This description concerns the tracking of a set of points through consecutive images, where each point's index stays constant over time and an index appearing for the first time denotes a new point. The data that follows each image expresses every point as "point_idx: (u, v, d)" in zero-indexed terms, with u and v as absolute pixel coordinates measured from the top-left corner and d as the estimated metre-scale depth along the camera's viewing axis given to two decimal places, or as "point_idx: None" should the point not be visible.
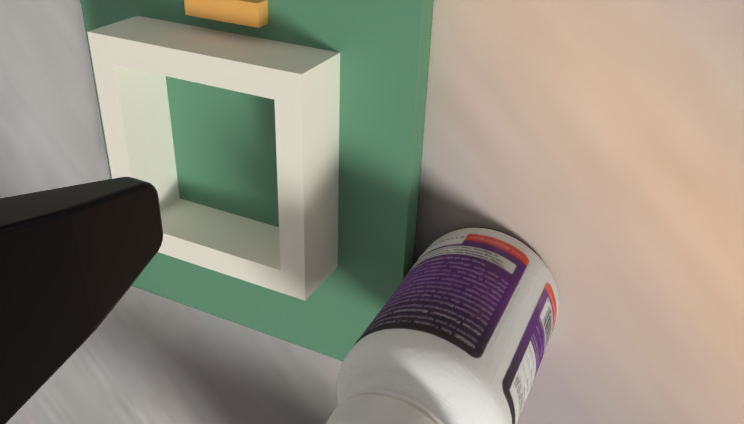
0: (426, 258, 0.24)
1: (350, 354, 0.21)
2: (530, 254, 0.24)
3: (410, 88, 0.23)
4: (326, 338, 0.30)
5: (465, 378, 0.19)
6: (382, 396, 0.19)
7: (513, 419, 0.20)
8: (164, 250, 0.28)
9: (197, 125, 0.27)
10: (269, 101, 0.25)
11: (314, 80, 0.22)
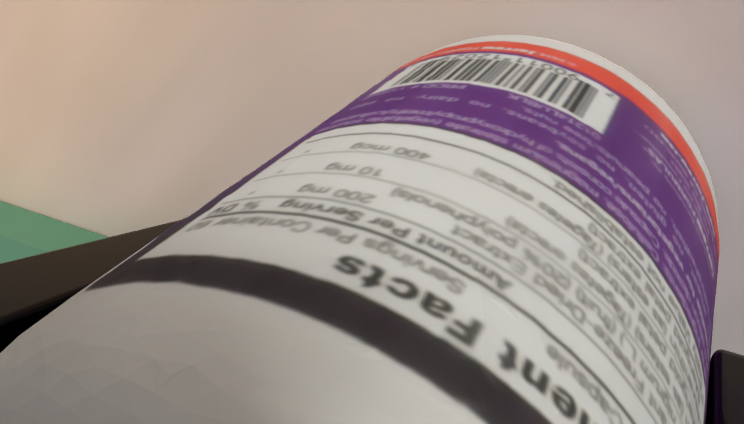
0: None
1: None
2: None
3: None
4: None
5: None
6: None
7: (225, 273, 0.04)
8: None
9: None
10: None
11: None
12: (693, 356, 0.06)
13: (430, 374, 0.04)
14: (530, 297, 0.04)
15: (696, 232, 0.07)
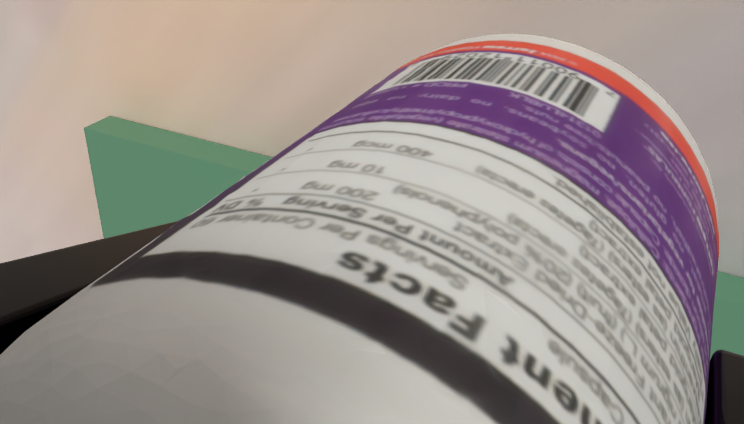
0: None
1: None
2: None
3: None
4: None
5: None
6: None
7: (229, 269, 0.04)
8: None
9: None
10: None
11: None
12: (693, 352, 0.06)
13: (435, 368, 0.04)
14: (532, 292, 0.04)
15: (696, 227, 0.07)
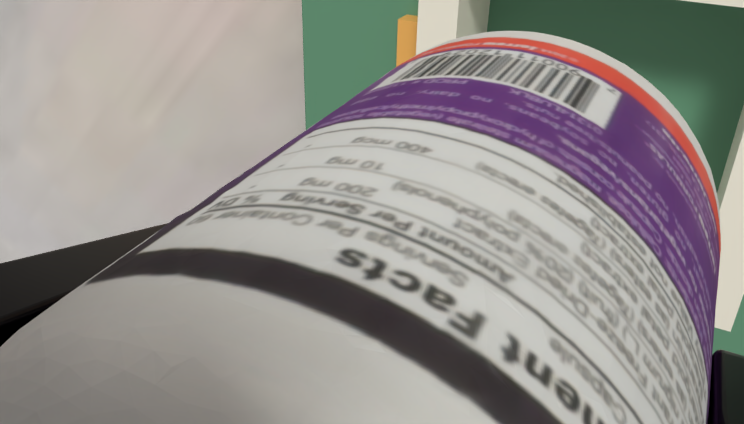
0: None
1: None
2: None
3: None
4: None
5: None
6: None
7: (226, 266, 0.04)
8: None
9: None
10: None
11: None
12: (696, 352, 0.06)
13: (434, 368, 0.04)
14: (534, 290, 0.04)
15: (698, 227, 0.07)
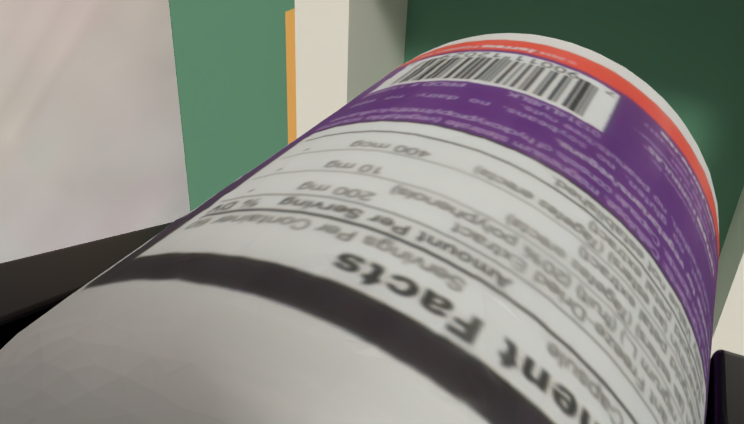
0: None
1: None
2: None
3: None
4: None
5: None
6: None
7: (224, 271, 0.04)
8: None
9: None
10: (468, 37, 0.13)
11: None
12: (694, 354, 0.06)
13: (430, 373, 0.04)
14: (531, 294, 0.04)
15: (698, 229, 0.07)
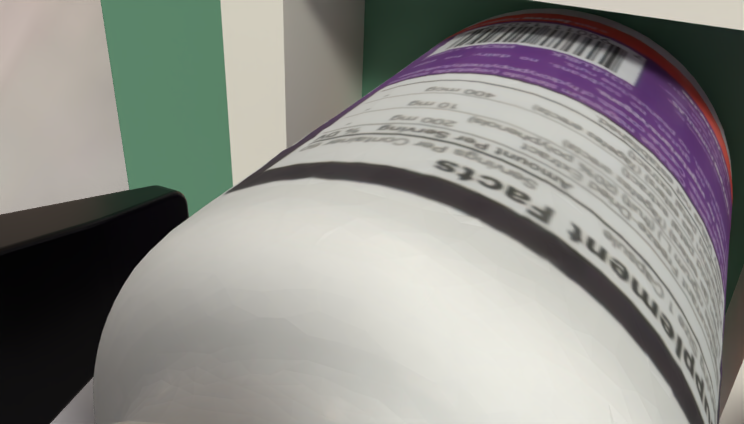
0: None
1: None
2: None
3: None
4: None
5: (113, 308, 0.06)
6: None
7: (348, 171, 0.05)
8: None
9: None
10: None
11: None
12: (715, 264, 0.07)
13: (519, 237, 0.05)
14: (587, 196, 0.06)
15: (714, 171, 0.08)
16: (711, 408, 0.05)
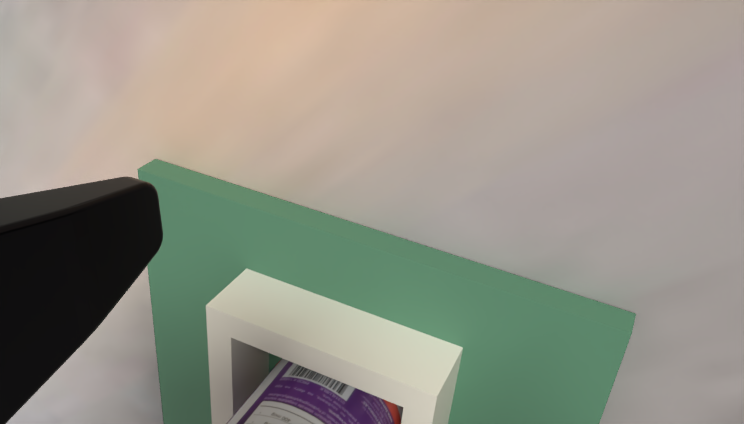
0: None
1: None
2: None
3: (263, 215, 0.25)
4: (574, 400, 0.23)
5: None
6: None
7: None
8: None
9: None
10: None
11: (229, 297, 0.25)
12: None
13: None
14: None
15: None
16: None
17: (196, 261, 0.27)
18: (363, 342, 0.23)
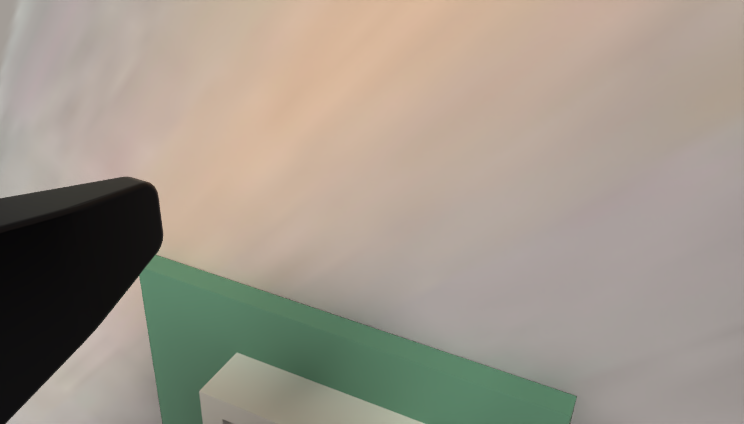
0: None
1: None
2: None
3: (248, 308, 0.28)
4: None
5: None
6: None
7: None
8: None
9: None
10: None
11: (220, 382, 0.28)
12: None
13: None
14: None
15: None
16: None
17: (192, 345, 0.30)
18: (338, 423, 0.26)
